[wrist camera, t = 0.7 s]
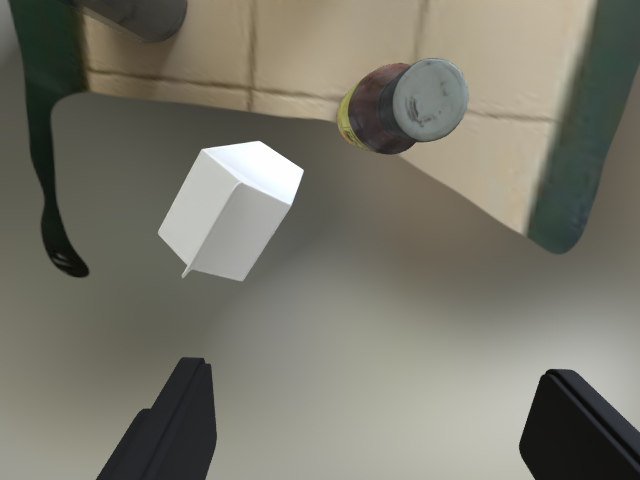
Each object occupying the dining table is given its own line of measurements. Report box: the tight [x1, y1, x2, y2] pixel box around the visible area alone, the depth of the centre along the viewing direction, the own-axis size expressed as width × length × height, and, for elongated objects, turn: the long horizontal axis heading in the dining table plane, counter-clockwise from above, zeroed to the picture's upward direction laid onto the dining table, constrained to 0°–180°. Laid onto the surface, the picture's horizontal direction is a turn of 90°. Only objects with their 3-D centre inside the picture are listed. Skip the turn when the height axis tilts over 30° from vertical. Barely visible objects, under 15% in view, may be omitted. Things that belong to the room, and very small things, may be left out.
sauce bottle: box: [337, 59, 468, 154], centre depth 26 cm, size 6×6×20 cm
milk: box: [158, 141, 304, 281], centre depth 27 cm, size 6×6×22 cm
